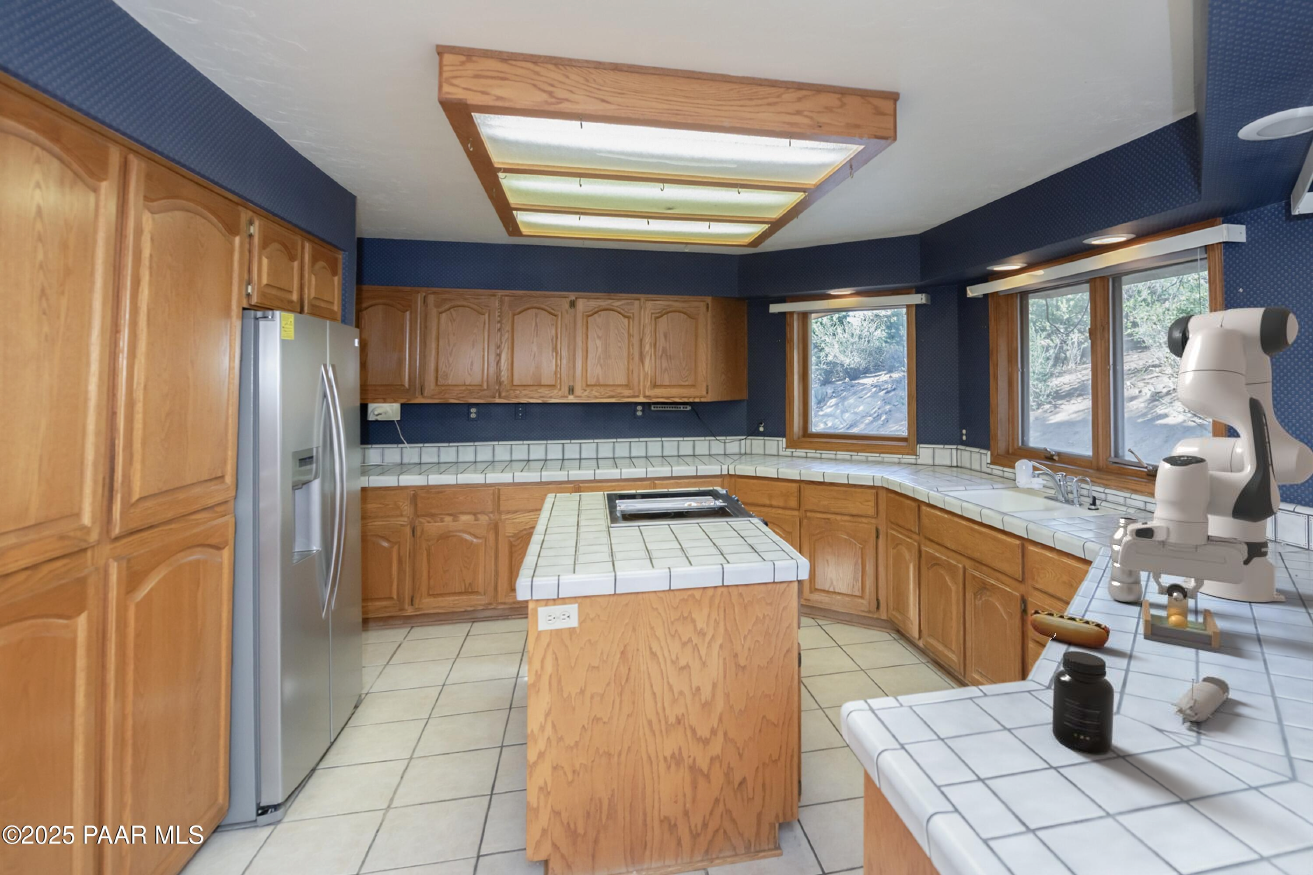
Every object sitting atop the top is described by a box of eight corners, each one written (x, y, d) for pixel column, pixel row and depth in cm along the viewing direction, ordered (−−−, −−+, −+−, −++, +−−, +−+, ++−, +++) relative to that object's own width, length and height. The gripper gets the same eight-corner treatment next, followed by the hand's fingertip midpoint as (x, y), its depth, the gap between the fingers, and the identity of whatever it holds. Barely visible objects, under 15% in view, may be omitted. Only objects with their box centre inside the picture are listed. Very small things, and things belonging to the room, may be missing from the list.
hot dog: (1106, 655, 112) (1107, 629, 112) (1025, 635, 122) (1026, 611, 121) (1111, 648, 115) (1112, 622, 115) (1033, 629, 125) (1034, 605, 125)
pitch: (1141, 616, 132) (1142, 598, 132) (1208, 628, 126) (1210, 609, 125) (1143, 638, 120) (1144, 619, 119) (1218, 652, 113) (1219, 632, 113)
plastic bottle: (1148, 606, 139) (1153, 521, 138) (1115, 604, 140) (1119, 520, 139) (1132, 597, 145) (1136, 516, 144) (1101, 595, 147) (1105, 515, 146)
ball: (1167, 626, 124) (1168, 611, 124) (1187, 629, 122) (1187, 615, 122) (1168, 630, 122) (1169, 615, 121) (1188, 633, 120) (1189, 619, 120)
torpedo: (1197, 689, 99) (1199, 651, 98) (1236, 701, 95) (1238, 661, 95) (1161, 722, 88) (1164, 679, 88) (1204, 737, 85) (1206, 692, 84)
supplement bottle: (1052, 723, 88) (1055, 643, 87) (1110, 738, 84) (1114, 654, 83) (1050, 745, 82) (1054, 659, 81) (1113, 762, 78) (1117, 672, 77)
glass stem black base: (1165, 613, 130) (1166, 582, 129) (1184, 616, 128) (1186, 584, 127) (1166, 621, 125) (1168, 588, 124) (1187, 625, 123) (1189, 591, 123)
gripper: (1245, 536, 123) (1241, 602, 124) (1119, 524, 135) (1117, 583, 136) (1250, 541, 118) (1246, 610, 119) (1119, 528, 130) (1116, 590, 131)
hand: (1176, 596), depth 127 cm, fingers closed on glass stem black base, 3 cm apart
